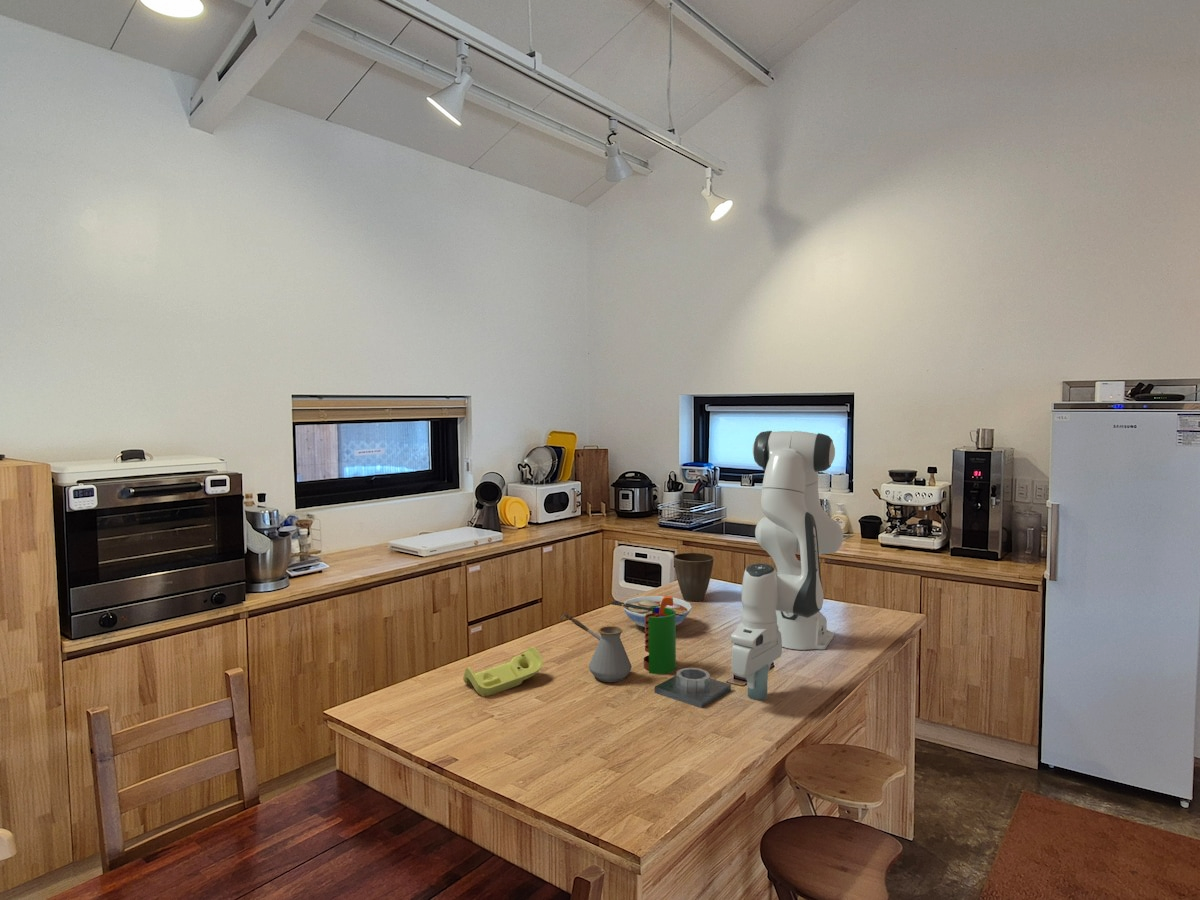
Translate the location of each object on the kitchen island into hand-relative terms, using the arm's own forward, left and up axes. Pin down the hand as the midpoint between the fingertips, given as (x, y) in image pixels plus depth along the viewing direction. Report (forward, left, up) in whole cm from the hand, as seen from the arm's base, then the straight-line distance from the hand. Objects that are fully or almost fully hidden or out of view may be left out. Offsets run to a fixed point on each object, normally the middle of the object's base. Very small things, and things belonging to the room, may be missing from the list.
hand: (757, 683), depth 180 cm
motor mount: (+8, -14, -3) cm, 16 cm away
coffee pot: (+15, -41, -3) cm, 44 cm away
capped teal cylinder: (0, 0, -3) cm, 3 cm away
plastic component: (+36, -54, -4) cm, 65 cm away
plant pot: (-64, -60, -3) cm, 88 cm away
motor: (0, -30, -3) cm, 30 cm away
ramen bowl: (-28, -51, -3) cm, 58 cm away
